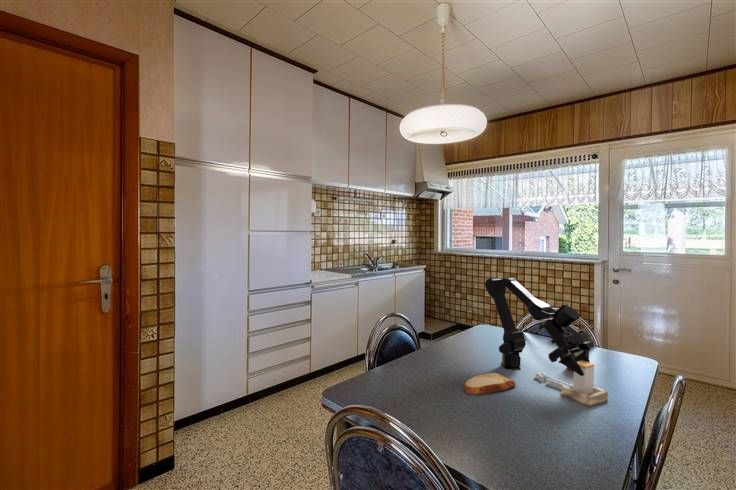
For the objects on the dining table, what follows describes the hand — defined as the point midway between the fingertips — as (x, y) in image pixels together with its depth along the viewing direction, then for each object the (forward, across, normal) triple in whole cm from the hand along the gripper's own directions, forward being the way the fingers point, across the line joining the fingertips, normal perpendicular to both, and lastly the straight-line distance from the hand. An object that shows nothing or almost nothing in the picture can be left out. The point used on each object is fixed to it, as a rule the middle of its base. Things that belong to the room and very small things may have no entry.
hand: (587, 374), depth 120 cm
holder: (+5, 0, +7) cm, 9 cm away
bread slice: (-9, -23, +22) cm, 33 cm away
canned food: (-6, +22, +18) cm, 30 cm away
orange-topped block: (+4, 0, +6) cm, 7 cm away
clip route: (-3, 0, +15) cm, 15 cm away
